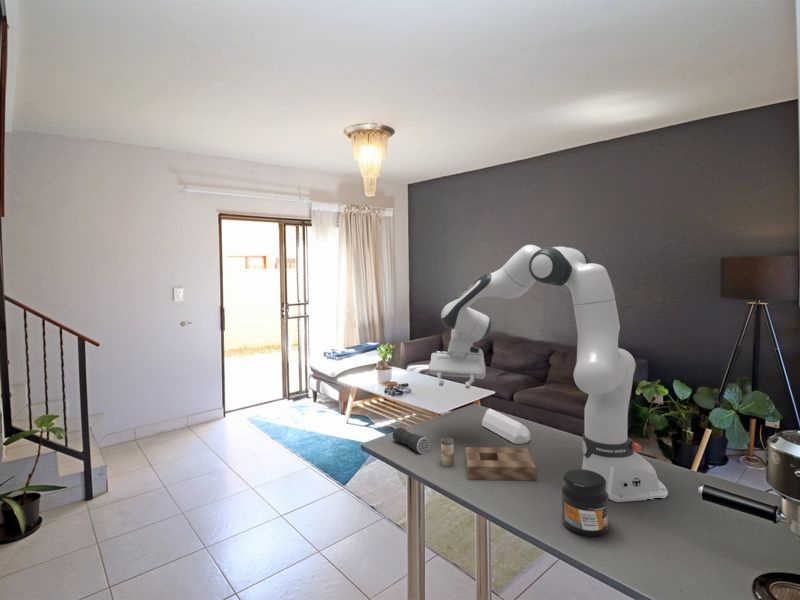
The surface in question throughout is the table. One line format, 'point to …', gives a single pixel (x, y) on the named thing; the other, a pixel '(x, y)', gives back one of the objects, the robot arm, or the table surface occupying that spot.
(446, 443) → the beech pin
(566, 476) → the supplement container
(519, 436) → the white faceted prism
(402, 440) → the flashlight
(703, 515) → the table surface
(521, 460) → the socket block
